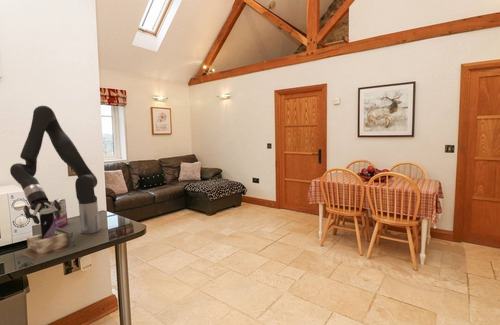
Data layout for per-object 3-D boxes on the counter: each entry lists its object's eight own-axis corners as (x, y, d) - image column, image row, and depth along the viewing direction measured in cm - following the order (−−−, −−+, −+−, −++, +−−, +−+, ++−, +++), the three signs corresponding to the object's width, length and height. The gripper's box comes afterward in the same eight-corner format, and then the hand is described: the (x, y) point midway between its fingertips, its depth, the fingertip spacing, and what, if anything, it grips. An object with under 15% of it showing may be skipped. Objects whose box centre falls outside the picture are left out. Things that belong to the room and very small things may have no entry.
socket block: (39, 254, 125) (38, 242, 124) (28, 249, 131) (26, 237, 130) (68, 245, 135) (66, 233, 134) (56, 241, 141) (55, 229, 141)
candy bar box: (60, 223, 173) (58, 198, 171) (68, 223, 173) (65, 198, 171) (47, 230, 162) (44, 203, 160) (55, 229, 162) (52, 202, 160)
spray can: (45, 248, 130) (41, 207, 128) (40, 245, 133) (36, 205, 131) (58, 244, 134) (54, 204, 132) (53, 242, 137) (49, 203, 135)
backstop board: (33, 261, 121) (31, 244, 120) (17, 253, 129) (15, 237, 129) (74, 247, 135) (72, 232, 134) (57, 241, 144) (55, 226, 143)
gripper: (19, 193, 129) (33, 220, 124) (53, 187, 141) (67, 212, 137) (16, 203, 132) (29, 229, 128) (49, 196, 144) (62, 221, 140)
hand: (48, 220), depth 132 cm, fingers open, 8 cm apart
